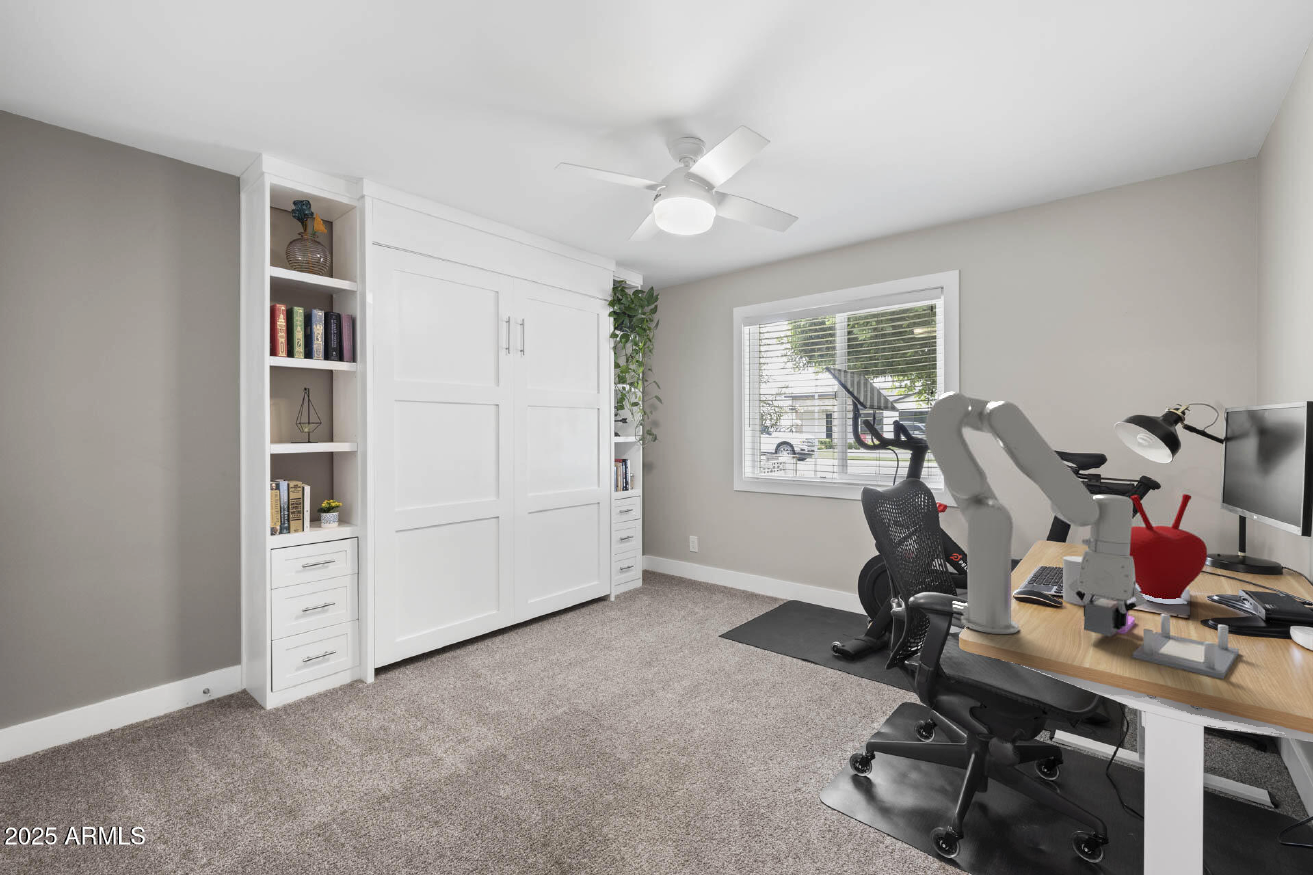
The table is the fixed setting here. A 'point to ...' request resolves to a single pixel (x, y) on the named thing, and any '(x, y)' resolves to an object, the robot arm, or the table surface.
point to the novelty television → (1165, 555)
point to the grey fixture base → (1187, 651)
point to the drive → (1101, 616)
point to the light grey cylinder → (1071, 578)
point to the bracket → (1127, 624)
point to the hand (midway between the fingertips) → (1104, 623)
